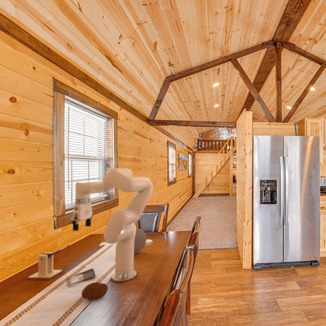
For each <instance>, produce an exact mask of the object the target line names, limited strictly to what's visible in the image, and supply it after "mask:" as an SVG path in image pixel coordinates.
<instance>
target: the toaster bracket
mask: <svg viewBox="0 0 326 326" xmlns="http://www.w3.org/2000/svg"><path fill="white" fill-rule="evenodd" d="M54 252H55V251H53V252H51V251H48V252H47V251H45V252H44V254H39V255H38V262H37V264H38V267H37V272H34V273H33V274H31V275H29V276H28V277H27V279H50V278H52V277H54V276H56V275H58V274H59V273H61V272H63V269H54V256H55V254H54V255H52V256H50V258H48V255H47V254H52V253H54Z"/></svg>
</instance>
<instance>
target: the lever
mask: <svg viewBox="0 0 326 326" xmlns="http://www.w3.org/2000/svg"><path fill="white" fill-rule="evenodd" d="M65 250H67V247H66V246H64V247H62V248H59V249H57V250H56V251H53V252H54V253H52V254H47V255H48V258H50V256H52V255H54V256H55V255H57V254H58V253H61V252H63V251H65Z"/></svg>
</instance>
